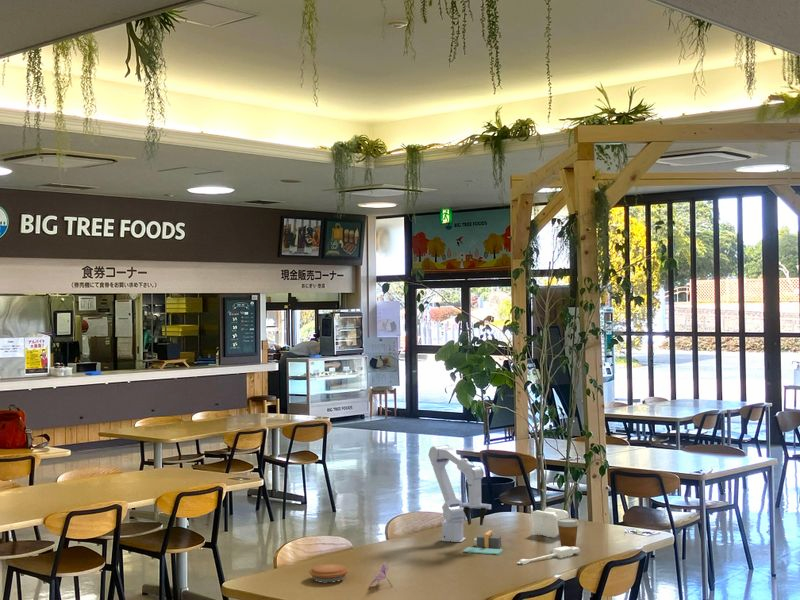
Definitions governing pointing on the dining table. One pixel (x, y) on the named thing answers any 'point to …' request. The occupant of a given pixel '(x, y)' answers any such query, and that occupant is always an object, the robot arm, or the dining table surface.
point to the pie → (328, 572)
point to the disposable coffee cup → (568, 531)
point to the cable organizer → (547, 521)
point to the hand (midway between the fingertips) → (475, 524)
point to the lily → (382, 574)
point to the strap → (487, 538)
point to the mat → (483, 550)
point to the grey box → (493, 541)
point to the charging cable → (555, 553)
